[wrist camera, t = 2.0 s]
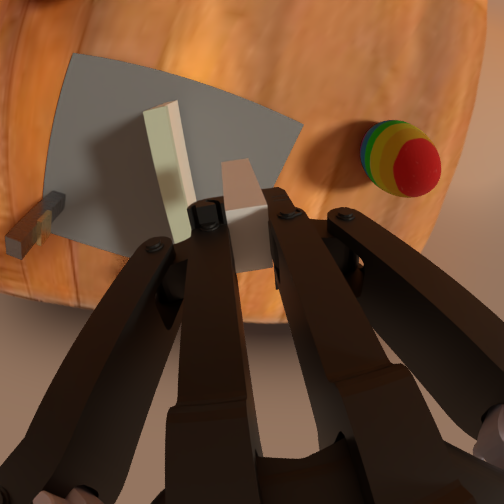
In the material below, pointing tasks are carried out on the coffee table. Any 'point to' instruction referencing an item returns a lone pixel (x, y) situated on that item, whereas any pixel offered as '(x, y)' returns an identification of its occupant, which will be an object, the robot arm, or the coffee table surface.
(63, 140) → the mat
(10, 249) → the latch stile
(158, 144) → the gate
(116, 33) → the coffee table surface
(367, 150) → the decorative egg
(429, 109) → the coffee table surface
